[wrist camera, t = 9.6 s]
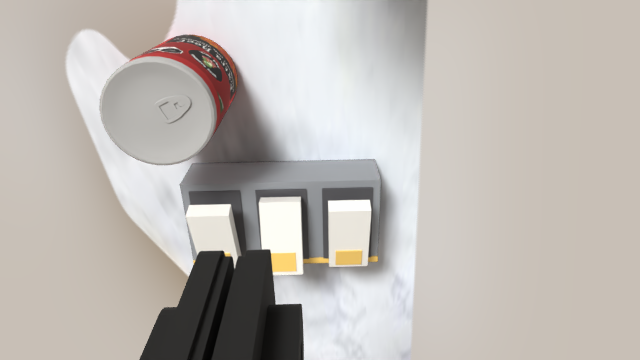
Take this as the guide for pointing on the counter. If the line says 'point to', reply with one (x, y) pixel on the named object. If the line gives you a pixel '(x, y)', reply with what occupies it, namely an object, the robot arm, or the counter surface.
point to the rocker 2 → (282, 233)
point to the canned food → (169, 99)
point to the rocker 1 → (213, 229)
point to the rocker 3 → (348, 232)
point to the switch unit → (285, 181)
